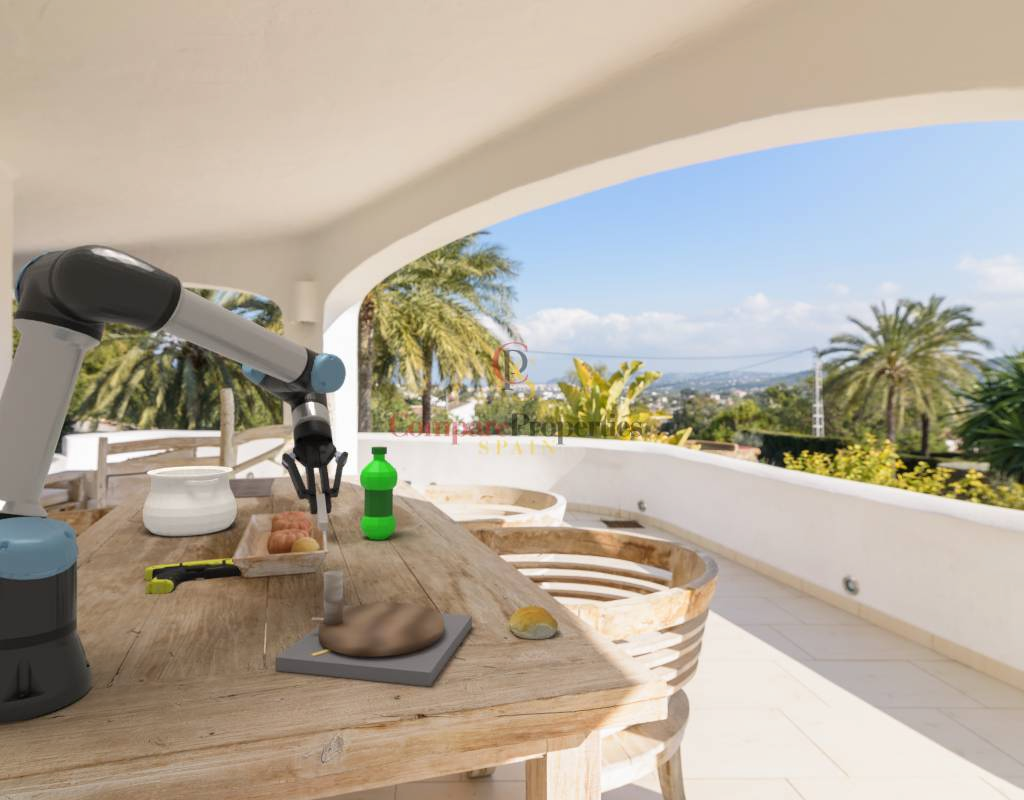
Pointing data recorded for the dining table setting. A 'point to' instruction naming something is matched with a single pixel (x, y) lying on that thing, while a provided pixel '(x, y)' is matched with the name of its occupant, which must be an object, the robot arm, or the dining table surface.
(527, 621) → the bread roll
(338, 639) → the dial
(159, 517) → the pot
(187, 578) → the stun gun
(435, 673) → the base
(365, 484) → the plastic bottle
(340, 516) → the dining table surface
